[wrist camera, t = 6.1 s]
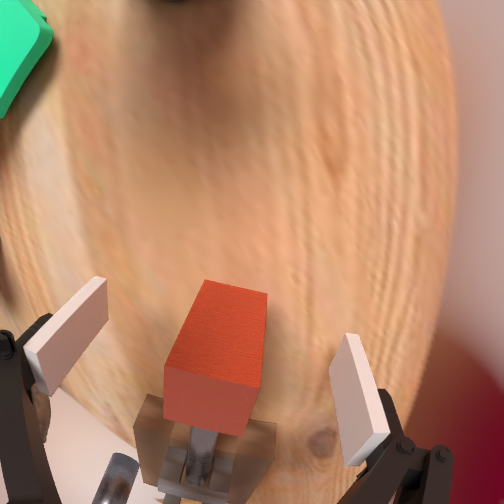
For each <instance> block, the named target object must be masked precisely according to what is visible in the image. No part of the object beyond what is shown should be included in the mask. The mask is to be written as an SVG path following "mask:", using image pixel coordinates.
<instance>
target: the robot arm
mask: <svg viewBox="0 0 504 504" xmlns="http://www.w3.org/2000/svg"><path fill="white" fill-rule="evenodd" d="M108 320H109V318H108V300H107V279H105V278H102V277H98V276H94V277H93V278H92V279H91V280H90V281H89V282H88V283H87V284H86V285H85V286H83V287H82V288H81V289H80V290H79V291H78V292H77V293H76V294H75V295H74V296H73V297H72V298H71V299H70V300H69V301H68V302H67V303H66V304H65V305H63V306H62V307H61V308H60V309H59V310H58V311H57V312H56V313H55V314H54V315H52V314H50V313H48V314H45V315H43V316H41V317H40V318H39V319H38V320H37V321H36V322H35V323H34V324H33V325H32V326H30V327H29V329H27V330H26V331H25V332H24V333H23V334H22V335H21V337H20V338H19V339H18V340H17V341H16V342H15V340H14V336H13V334H12V333H11V332H10V331H7V330H0V462H1V467H2V472H3V477H4V481H5V486H6V490H7V494H8V499H9V502H8V503H7V504H62V503H61V500H60V497H59V494H58V492H57V489H56V486H55V483H54V480H53V477H52V474H51V470H50V467H49V464H48V460H47V456H46V452H45V449H44V445H43V440H42V436H41V432H40V427H39V422H38V417H37V412H36V406H35V400H34V393H33V390H32V386H33V385H34V384H35V382H36V385H37V388H38V390H39V391H41V392H42V393H44V394H46V395H48V396H50V397H52V395H53V394H54V392H55V391H56V389H57V388H58V387H59V385H60V384H61V382H62V381H63V380H64V378H65V377H66V375H67V374H68V373H69V371H70V370H71V368H72V367H73V366H74V364H75V363H76V362H77V360H78V359H79V358H80V356H81V355H82V353H83V352H84V351H85V349H86V348H87V347H88V346H89V344H90V343H91V342H92V340H93V339H94V338H95V336H96V335H97V334H98V332H99V331H100V330H101V329H102V327H103V326H104V325H105V323H106V322H107V321H108ZM328 370H329V376H330V381H331V387H332V392H333V398H334V404H335V410H336V416H337V422H338V428H339V435H340V441H341V448H342V455H343V462H344V466H360V465H361V464H362V463H363V462H364V461H365V460H366V463H367V467H366V468H365V469H364V470H363V471H362V472H361V473H360V474H358V475H357V476H356V477H358V478H357V479H356V481H355V482H354V483H353V484H352V486H351V487H350V488H349V489H348V491H347V492H346V493H345V494H344V496H343V497H342V498H341V499H340V500H339V502H338V503H337V504H388V503H389V501H390V500H391V497H392V496H393V495H394V493H395V491H396V490H397V492H396V495H395V499H394V502H393V504H448V502H449V495H450V488H451V487H450V486H451V479H452V468H453V454H452V452H451V450H450V449H448V447H446V446H444V445H436V446H435V447H433V448H432V449H431V450H426V449H421V448H417V447H416V445H415V444H414V442H413V441H412V440H411V439H410V438H408V437H405V436H404V434H403V430H402V427H401V424H400V421H399V418H398V415H397V413H396V409H395V406H394V403H393V401H392V398H391V396H390V395H389V393H388V392H387V391H386V390H385V389H377V387H376V384H375V381H374V378H373V375H372V372H371V369H370V366H369V363H368V361H367V358H366V355H365V352H364V349H363V346H362V343H361V341H360V338H359V335H358V334H351V333H345V335H344V337H343V340H342V342H341V344H340V346H339V348H338V350H337V352H336V354H335V357H334V359H333V361H332V363H331V365H330V367H329V369H328Z"/></svg>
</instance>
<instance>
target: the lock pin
mask: <svg viewBox="0 0 504 504" xmlns="http://www.w3.org/2000/svg"><path fill="white" fill-rule="evenodd" d="M266 307H267V294H266V293H262V292H257V291H253V290H248V289H244V288H239V287H235V286H231V285H226V284H222V283H218V282H213V281H209V280H204V282H203V284H202V287H201V289H200V291H199V293H198V295H197V297H196V299H195V301H194V303H193V305H192V307H191V309H190V312H189V314H188V316H187V318H186V320H185V322H184V324H183V326H182V329H181V331H180V333H179V335H178V337H177V339H176V341H175V344H174V346H173V348H172V350H171V352H170V354H169V357H168V359H167V361H166V363H165V365H164V407H163V418H164V419H168V420H171V421H175V422H178V423H182V424H186V425H189V426H191V431H190V439H189V448H188V456H187V465H186V474H185V480H186V482H187V483H188V484H189V485H190V486H192V487H201V486H203V485H204V484H205V483H206V479H207V476H208V472H209V468H210V465H211V461H212V457H213V453H214V450H215V446H216V442H217V438H218V435H219V433H224V434H229V435H234V436H240V437H242V436H243V433H244V431H245V428H246V425H247V423H248V420H249V417H250V414H251V412H252V409H253V406H254V404H255V401H256V398H257V395H258V392H259V390H260V383H261V371H262V359H263V347H264V334H265V321H266Z"/></svg>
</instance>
